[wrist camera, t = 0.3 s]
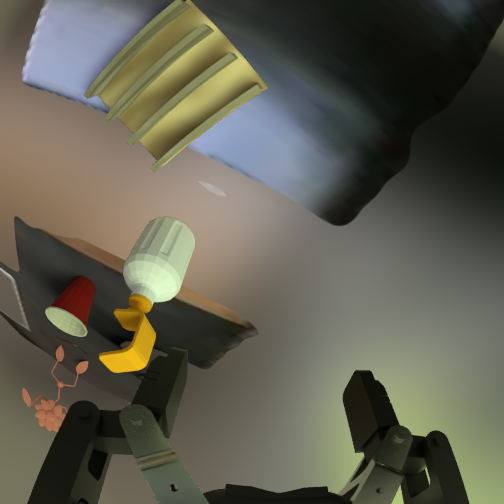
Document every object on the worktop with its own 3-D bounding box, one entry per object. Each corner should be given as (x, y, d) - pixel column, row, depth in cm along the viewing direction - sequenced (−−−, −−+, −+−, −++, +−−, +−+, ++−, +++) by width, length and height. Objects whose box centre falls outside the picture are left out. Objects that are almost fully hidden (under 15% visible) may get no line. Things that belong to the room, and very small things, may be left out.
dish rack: (97, 90, 29) (80, 95, 26) (190, 0, 22) (179, -7, 18) (164, 163, 37) (153, 176, 34) (267, 87, 30) (267, 90, 26)
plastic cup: (95, 305, 61) (76, 343, 52) (63, 279, 56) (41, 315, 47) (113, 291, 57) (92, 333, 47) (77, 261, 51) (51, 301, 42)
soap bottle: (139, 217, 43) (67, 340, 24) (189, 213, 42) (131, 351, 23) (154, 258, 49) (104, 377, 30) (200, 257, 48) (163, 389, 29)
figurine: (99, 372, 92) (75, 445, 65) (47, 340, 83) (16, 411, 55) (108, 363, 85) (81, 446, 57) (49, 326, 75) (13, 408, 48)
